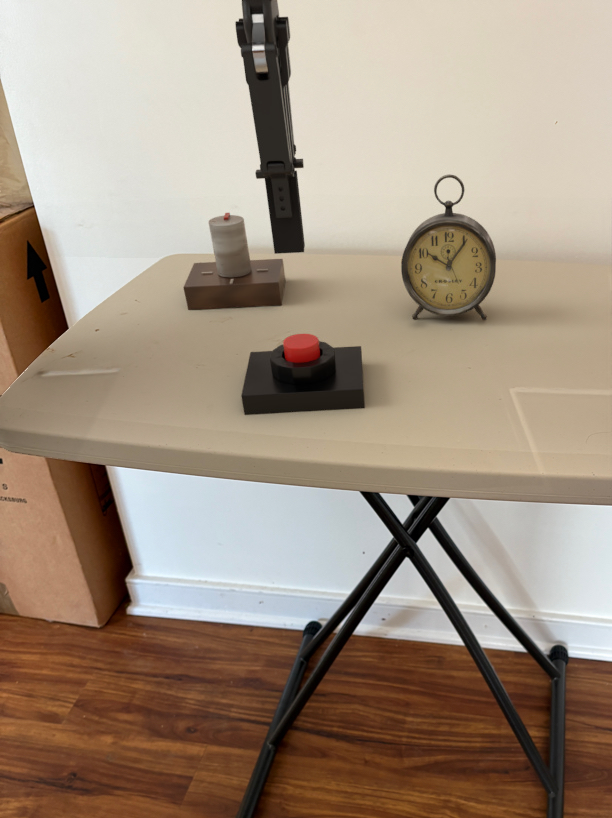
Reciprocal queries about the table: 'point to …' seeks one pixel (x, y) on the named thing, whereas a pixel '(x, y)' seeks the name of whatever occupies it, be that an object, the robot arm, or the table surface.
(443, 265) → the alarm clock
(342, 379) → the switch block
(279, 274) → the panel
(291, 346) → the light button
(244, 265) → the dimmer knob
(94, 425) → the table surface
